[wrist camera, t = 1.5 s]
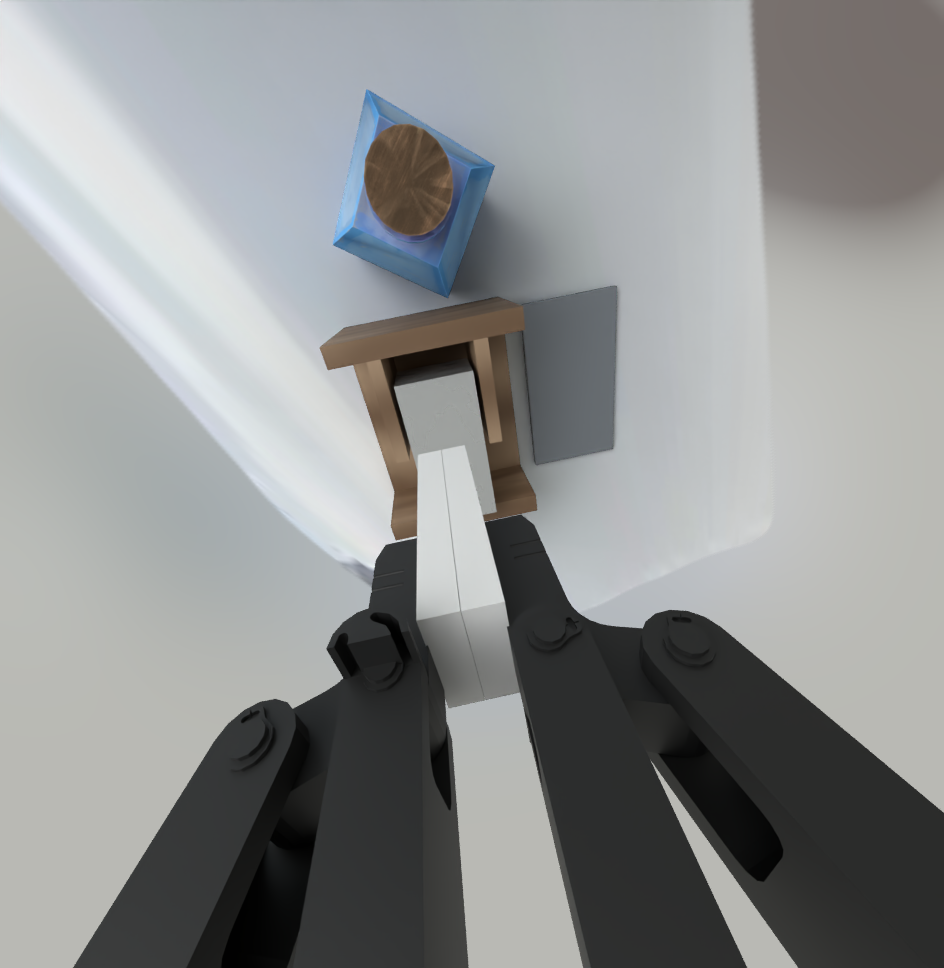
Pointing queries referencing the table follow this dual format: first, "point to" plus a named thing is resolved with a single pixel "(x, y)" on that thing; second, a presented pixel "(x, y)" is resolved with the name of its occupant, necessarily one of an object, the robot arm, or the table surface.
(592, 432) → the slate pad
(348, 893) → the robot arm
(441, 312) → the pocket jig
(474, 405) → the bar
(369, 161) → the perfume bottle
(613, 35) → the table surface
